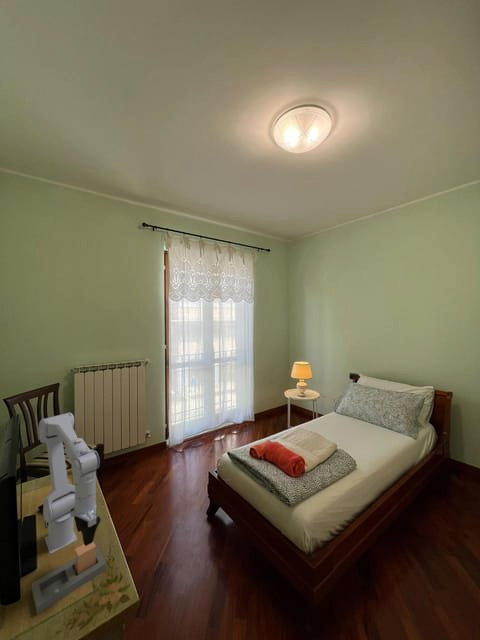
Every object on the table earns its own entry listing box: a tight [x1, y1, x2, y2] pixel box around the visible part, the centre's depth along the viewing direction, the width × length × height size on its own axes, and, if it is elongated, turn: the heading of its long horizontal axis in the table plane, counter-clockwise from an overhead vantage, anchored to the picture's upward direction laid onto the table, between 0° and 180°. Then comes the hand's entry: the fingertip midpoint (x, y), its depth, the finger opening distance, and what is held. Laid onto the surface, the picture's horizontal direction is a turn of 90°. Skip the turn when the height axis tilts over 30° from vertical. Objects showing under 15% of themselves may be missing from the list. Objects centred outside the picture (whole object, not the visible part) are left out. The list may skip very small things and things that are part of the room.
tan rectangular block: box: [74, 541, 96, 576], centre depth 79 cm, size 4×5×7 cm
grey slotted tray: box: [31, 545, 107, 616], centre depth 76 cm, size 9×17×3 cm, turn 136°
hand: (85, 536), depth 80 cm, fingers open, 7 cm apart
